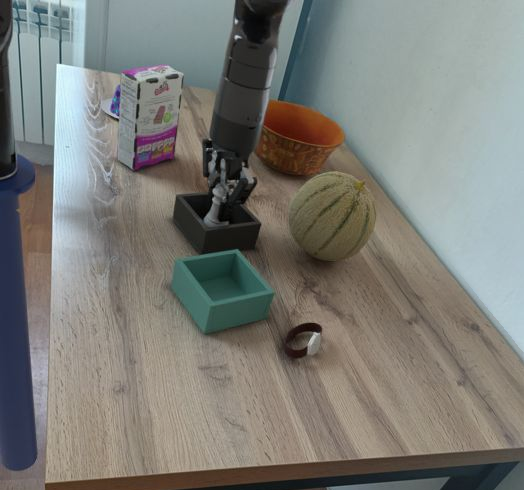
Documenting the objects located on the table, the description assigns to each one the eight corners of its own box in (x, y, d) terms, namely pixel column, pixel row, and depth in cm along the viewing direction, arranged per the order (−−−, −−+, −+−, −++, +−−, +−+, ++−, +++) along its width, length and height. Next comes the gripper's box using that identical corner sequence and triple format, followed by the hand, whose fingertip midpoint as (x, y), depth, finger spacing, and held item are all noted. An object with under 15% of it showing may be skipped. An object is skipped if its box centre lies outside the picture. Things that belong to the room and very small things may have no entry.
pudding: (138, 99, 124) (140, 76, 121) (166, 123, 119) (169, 99, 115) (90, 101, 117) (90, 76, 114) (117, 127, 112) (119, 102, 108)
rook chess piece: (219, 220, 94) (228, 179, 89) (232, 235, 92) (242, 193, 86) (196, 224, 92) (204, 181, 86) (209, 238, 89) (218, 196, 84)
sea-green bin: (204, 334, 74) (210, 306, 71) (170, 286, 80) (175, 258, 76) (266, 318, 80) (275, 292, 77) (231, 275, 85) (237, 248, 82)
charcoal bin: (200, 257, 87) (206, 230, 83) (172, 220, 92) (175, 194, 89) (254, 248, 92) (262, 223, 89) (224, 214, 98) (230, 189, 94)
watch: (301, 369, 74) (309, 350, 72) (273, 351, 75) (280, 332, 73) (326, 342, 80) (334, 324, 77) (299, 325, 81) (306, 307, 78)
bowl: (290, 138, 130) (302, 96, 123) (349, 183, 120) (365, 141, 113) (220, 144, 118) (229, 98, 111) (278, 195, 108) (292, 148, 101)
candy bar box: (156, 148, 110) (166, 63, 98) (174, 159, 108) (186, 74, 97) (114, 159, 102) (119, 69, 91) (133, 171, 101) (140, 81, 89)
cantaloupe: (269, 227, 99) (291, 149, 88) (338, 230, 104) (367, 157, 94) (296, 278, 89) (324, 198, 79) (371, 278, 95) (407, 203, 85)
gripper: (194, 89, 79) (178, 193, 91) (242, 134, 72) (218, 241, 84) (237, 90, 83) (216, 190, 95) (286, 133, 76) (258, 235, 88)
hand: (217, 213), depth 89 cm, fingers closed on rook chess piece, 3 cm apart
